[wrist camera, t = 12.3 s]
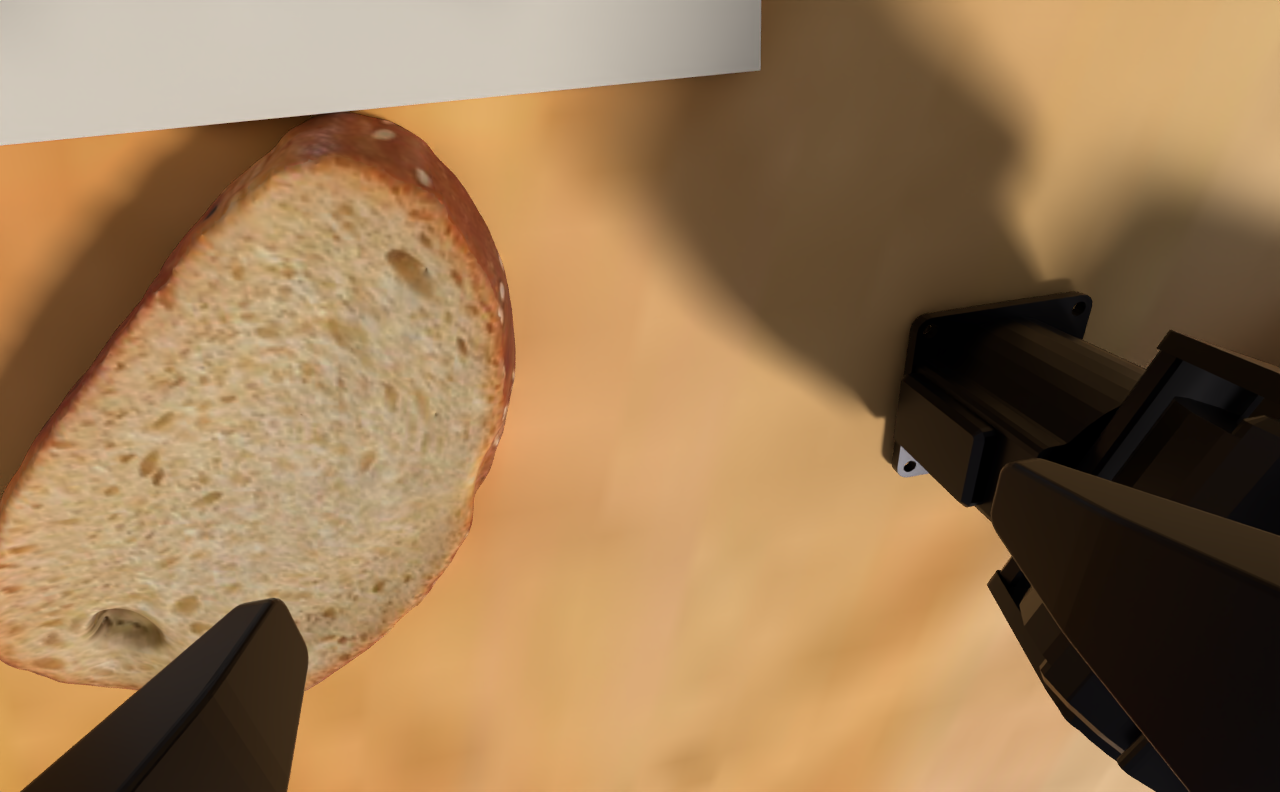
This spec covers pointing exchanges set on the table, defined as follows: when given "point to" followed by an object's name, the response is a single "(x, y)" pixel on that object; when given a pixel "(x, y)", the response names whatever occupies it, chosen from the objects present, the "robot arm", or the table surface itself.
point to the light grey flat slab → (336, 56)
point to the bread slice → (271, 420)
